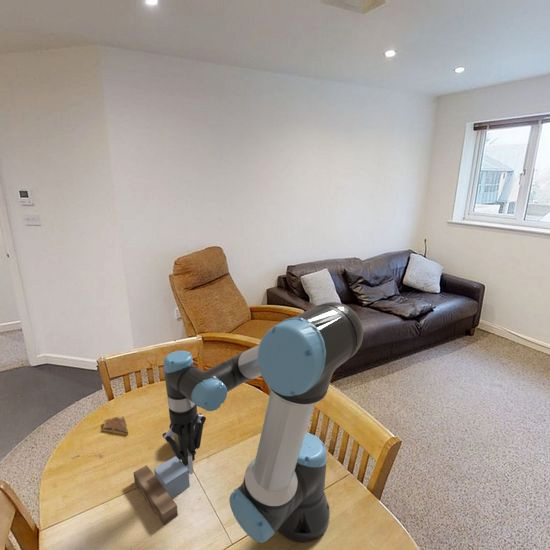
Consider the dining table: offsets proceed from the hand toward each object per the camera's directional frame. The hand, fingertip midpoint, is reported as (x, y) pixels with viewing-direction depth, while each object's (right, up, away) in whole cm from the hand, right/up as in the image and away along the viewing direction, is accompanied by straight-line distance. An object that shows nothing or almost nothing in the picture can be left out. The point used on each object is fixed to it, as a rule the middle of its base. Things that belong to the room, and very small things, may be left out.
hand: (189, 470), depth 106 cm
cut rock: (-4, +2, +14) cm, 15 cm away
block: (-4, -3, -3) cm, 6 cm away
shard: (-30, +4, +21) cm, 37 cm away
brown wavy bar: (-8, -4, -7) cm, 11 cm away
